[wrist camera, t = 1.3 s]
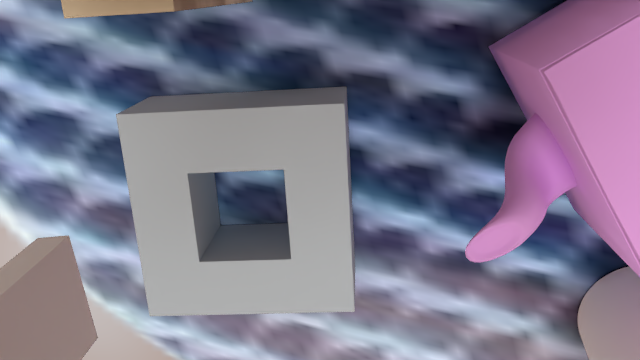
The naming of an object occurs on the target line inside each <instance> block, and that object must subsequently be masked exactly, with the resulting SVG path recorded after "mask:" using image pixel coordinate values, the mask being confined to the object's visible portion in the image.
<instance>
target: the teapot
mask: <svg viewBox="0 0 640 360" xmlns="http://www.w3.org/2000/svg"><path fill="white" fill-rule="evenodd" d="M489 49H490V51H491V53H492V55H493V57H494V59H495V61H496V63H497V65H498V66H499V68H500V70H501V72H502V74H503V76H504V78H505V80H506V82H507V83H508V85H509V87H510V89H511V91H512V93H513V95H514V97H515V98H516V100H517V102H518V104H519V106H520V108H521V110H522V112H523V114H524V116H525V117H526V119H527V122H526V123H525V124H524V125H523V126H522V127H521V128H520V130H519V131H518V132H517V133H516V134H515V136H514V137H513V139H512V141H511V143H510V145H509V147H508V151H507V155H506V159H505V198H504V201H503V204H502V206H501V209H500V210H499V211H498V213H497V214H496V216H495V217H494V218H493V219H492V220H491V221H490V222H489V223H488V224H486V225H485V226H484V227H483V228H482V229H481V230H480V231H479V232H478V233H477V234H476V235H475V236H474V237H473V238H472V239H471V240H470V242H469V244H468V245H467V247H466V251H465V254H466V257H467V258H468V259H469V260H470V261H473V262H484V261H489V260H492V259H495V258H498V257H500V256H502V255H505V254H507V253H508V252H510V251H512V250H514V249H515V248H517V247H518V246H519V245H521V244H522V243H523V242H524V241H525V240H526V239H527V238H528V237H529V236H530V235H531V234H532V233H533V232H534V231H535V230H536V229H537V227H538V226H539V225H540V223H541V222H542V220H543V218H544V217H545V214H546V211H547V208H548V207H549V205H550V204H551V203H552V202H553V201H554V200H555V199H557V198H558V197H559V196H561V195H562V194H564V193H566V195H567V197H568V199H569V201H570V203H571V205H572V206H573V208H574V210H575V211H576V212H577V213H578V214H579V215H580V216H581V217H582V218H583V219H584V220H585V221H586V222H587V223H588V224H589V225H590V226H591V227H592V228H593V229H594V230H595V231H596V233H597V234H598V235H599V236H600V237H601V238H602V239H603V240H604V241H605V242H606V243H607V244H608V245H609V246H610V247H611V248H612V249H613V250H614V251H615V252H616V253H617V254H618V255H619V256H620V257H621V258H622V259H623V260H624V261H625V263H626V264H627V265H628V266H629V267H630V268H631V269H632V270H633V271H634V272H635V273H636V274H637V275H638V276H639V277H640V0H567V1H565V2H563V3H562V4H560V5H558V6H556V7H555V8H553V9H551V10H550V11H548V12H546V13H544V14H543V15H541V16H539V17H538V18H536V19H534V20H533V21H531V22H529V23H527V24H526V25H524V26H522V27H521V28H519V29H517V30H516V31H514V32H512V33H510V34H509V35H507V36H505V37H504V38H502V39H500V40H499V41H497V42H495V43H493V44H492V45H490V46H489Z"/></svg>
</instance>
